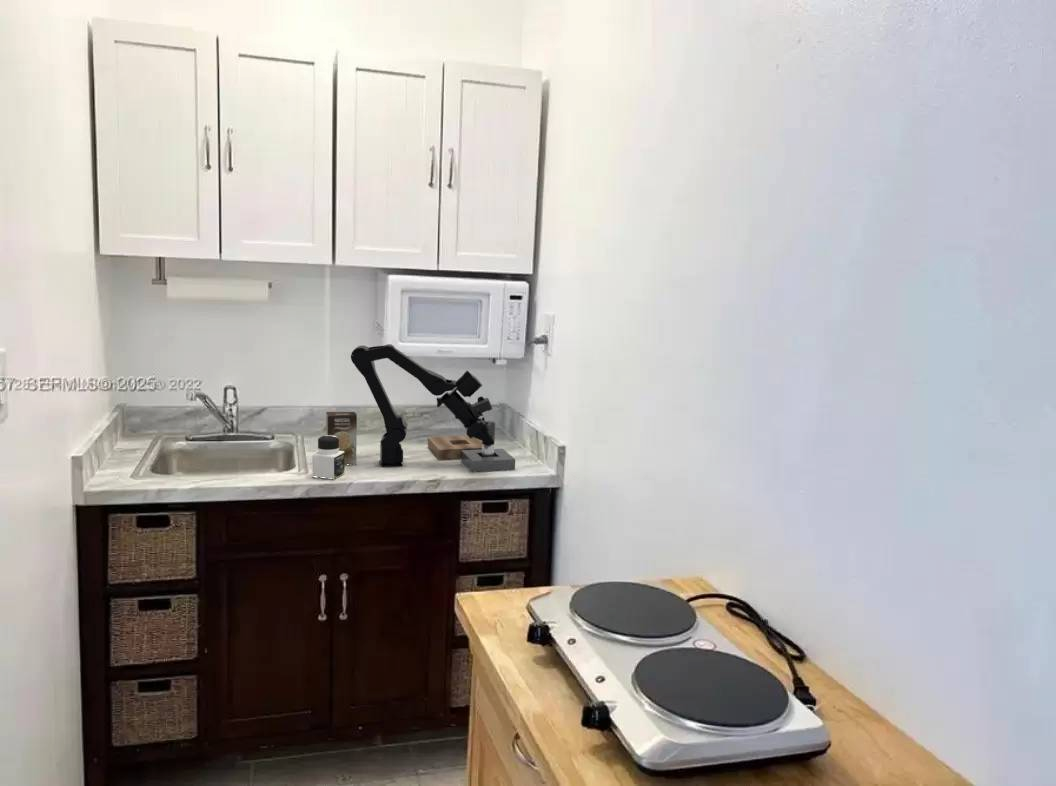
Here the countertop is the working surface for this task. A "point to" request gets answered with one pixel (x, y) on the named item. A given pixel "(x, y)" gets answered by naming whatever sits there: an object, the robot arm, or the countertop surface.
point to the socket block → (487, 460)
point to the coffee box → (343, 432)
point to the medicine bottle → (328, 458)
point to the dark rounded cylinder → (486, 447)
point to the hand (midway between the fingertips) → (492, 441)
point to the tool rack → (452, 446)
